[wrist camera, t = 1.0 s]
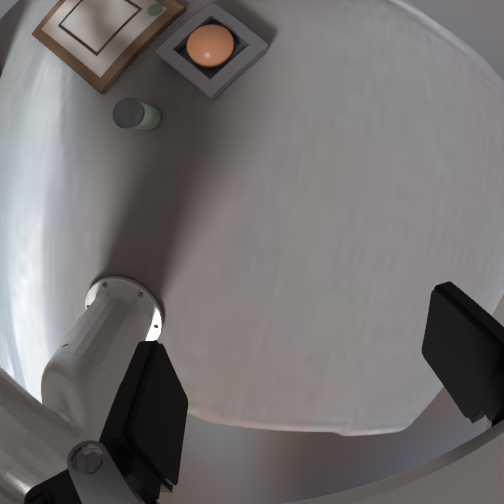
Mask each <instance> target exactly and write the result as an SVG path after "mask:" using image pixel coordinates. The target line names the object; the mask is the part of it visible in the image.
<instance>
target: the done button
mask: <svg viewBox="0 0 504 504" xmlns="http://www.w3.org/2000/svg"><path fill="white" fill-rule="evenodd" d="M233 49H234V46H233V37H232V35H231V34H230V32H229V31H228V30H227V29H225V28H224V27H221V26H218V25H206V26H202V27H200V28H198V29H196V30H195V31H194V32H193V33H192V34H191V35H190V37H189V39H188V41H187V51H188V53H189V55H190V57H191V58H192V60H193V61H194V62H195V63H196V64H197V65H199V66H201V67H205V68H215V67H219V66H221V65H223V64H225V63H226V62H227V61H228V60H229V59H230V58H231V56H232V54H233Z"/></svg>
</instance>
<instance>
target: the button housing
mask: <svg viewBox="0 0 504 504" xmlns="http://www.w3.org/2000/svg"><path fill="white" fill-rule="evenodd" d="M206 25H218V26H221V27H224V28H225V29H227V30H228V31H229V32H230V34H231V35H232V37H233V46H234V49H233V54H232V56H231V58H230V59H229V60H228V61H227V62H226V63H225V64H223V65H221V66H219V67H215V68H205V67H201V66H199V65H197V64H196V63H195V62H194V61H193V60H192V58H191V57H190V55H189V53H188V51H187V41H188V39H189V37H190V35H191V34H192V33H193V32H194V31H195V30H196V29H198V28H200V27H202V26H206ZM268 46H269V45H268V44H267V43H266V42H265V41H264V40H262V39H261V38H260V37H259V36H257V35H256V34H255V33H254V32H253V31H251V30H250V29H249V28H248V27H246V26H245V25H244V24H242V23H241V22H240V21H238V20H237V19H236V18H234V17H233V16H232V15H230V14H229V13H228V12H226V11H225V10H224V9H222V8H221V7H219V6H218V5H216V4H215V3H214V2H212V1H211V2H210V3H209V4H208V5H206V6H205V7H204V8H202V9H201V10H200V11H199V12H198V13H196V14H195V15H194V16H193V17H192V18H190V19H189V20H188V21H187V22H186V23H185V24H183V25H182V26H181V27H180V28H179V29H178V30H177V31H176V32H174V33H173V34H172V35H171V36H170V37H169V38H168V39H167V40H166V41H165V42H164V43H163V44H162V45H161V46H160V47H159V48H158V49H157V50H156V51H155V53H156V54H157V55H158V56H159V57H160V58H161V59H162V60H163V61H164V62H166V63H167V64H168V65H169V66H171V67H172V68H173V69H174V70H176V71H177V72H178V73H179V74H181V75H182V76H183V77H184V78H185V79H187V80H188V81H189V82H190V83H191V84H193V85H194V86H195V87H196V88H197V89H198V90H200V91H201V92H202V93H203V94H204V95H205V96H207V97H208V98H209V99H210V100H211V101H212V102H213V101H214V100H215V99H216V98H217V97H218V96H219V95H220V94H222V93H223V92H224V91H225V90H226V89H227V88H228V87H229V86H230V85H231V84H232V83H233V82H234V81H235V80H236V79H238V78H239V77H240V76H241V75H242V74H243V73H244V72H245V71H246V70H248V69H249V68H250V67H251V66H252V65H253V64H254V63H256V62H257V61H258V60H259V59H260V58H261V57H263V56H264V55H265V54H266V52H267V49H268Z"/></svg>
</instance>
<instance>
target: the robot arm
mask: <svg viewBox="0 0 504 504" xmlns="http://www.w3.org/2000/svg"><path fill="white" fill-rule="evenodd" d="M162 326H163V316H162V311H161V309H160V306H159V304H158V302H157V300H156V299H155V297H154V296H153V295H152V294H151V293H150V292H149V291H148V290H147V289H146V288H145V287H144V286H142V285H141V284H139V283H138V282H136V281H134V280H132V279H129V278H126V277H122V276H109V277H105V278H102V279H100V280H98V281H97V282H95V284H94V285H93V286H92V287H91V288H90V289H89V291H88V293H87V295H86V299H85V312H84V314H83V315H82V316H81V318H80V319H79V320H78V322H77V323H76V324H75V326H74V327H73V328H72V330H71V331H70V332H69V334H68V335H67V336H66V338H65V339H64V341H63V342H62V343H61V345H60V346H59V348H58V349H57V350H56V352H55V353H54V355H53V356H52V358H51V359H50V361H49V362H48V364H47V365H46V367H45V369H44V372H43V375H42V381H41V396H42V403H40V402H39V401H38V400H36V399H35V398H34V397H33V396H32V395H31V394H30V393H28V392H27V391H26V390H25V389H24V388H23V387H22V386H21V385H20V384H19V383H17V382H16V381H15V380H14V379H13V378H12V377H11V376H10V375H9V374H8V373H7V372H6V371H5V370H4V369H3V368H2V367H1V366H0V504H161V503H160V502H159V500H158V499H159V494H160V492H168V493H172V488H173V485H177V483H178V476H179V469H180V461H181V453H182V445H183V438H184V431H185V424H186V417H187V410H188V399H187V396H186V394H185V392H184V390H183V388H182V385H181V383H180V381H179V379H178V377H177V375H176V373H175V370H174V368H173V366H172V364H171V361H170V359H169V357H168V354H167V352H166V350H165V347H164V345H163V344H159V343H158V342H157V341H156V340H157V338H158V337H159V335H160V332H161V329H162ZM422 354H423V357H424V358H425V360H426V361H427V362H428V364H429V365H430V367H431V368H432V369H433V371H434V372H435V374H436V375H437V376H438V378H439V379H440V381H441V382H442V384H443V385H444V387H445V388H446V389H447V391H448V392H449V394H450V395H451V397H452V398H453V400H454V401H455V403H456V404H457V406H458V407H459V409H460V410H461V412H462V413H463V415H464V416H465V417H466V418H470V420H471V422H472V423H474V422H476V421H478V420H479V419H481V418H483V417H484V415H486V417H487V418H488V420H487V427H486V431H485V432H483V433H482V434H480V435H478V436H477V437H475V438H473V439H472V440H470V441H468V442H466V443H464V444H463V445H461V446H459V447H457V448H455V449H453V450H452V451H449V452H447V453H445V454H443V455H441V456H439V457H437V458H435V459H433V460H430V461H428V462H426V463H424V464H422V465H419V466H417V467H415V468H412V469H410V470H407V471H405V472H402V473H400V474H397V475H394V476H392V477H389V478H386V479H383V480H380V481H377V482H374V483H371V484H368V485H365V486H361V487H358V488H355V489H351V490H347V491H343V492H340V493H335V494H331V495H327V496H322V497H318V498H313V499H308V500H302V501H296V502H290V503H284V504H504V327H503V326H502V325H501V324H500V323H499V322H497V321H496V320H495V319H494V318H493V317H492V316H491V315H490V314H489V313H487V312H486V311H485V310H484V309H483V308H482V307H481V306H479V305H478V304H477V303H476V302H475V301H474V300H472V299H471V298H470V297H469V296H468V295H466V294H465V293H464V292H463V291H462V290H460V289H459V288H458V287H457V286H455V285H454V284H453V283H452V282H445V283H442V284H439V285H436V286H435V288H434V290H433V291H432V293H431V298H430V305H429V312H428V318H427V324H426V329H425V335H424V340H423V345H422Z"/></svg>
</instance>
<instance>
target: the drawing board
mask: <svg viewBox="0 0 504 504" xmlns="http://www.w3.org/2000/svg"><path fill="white" fill-rule="evenodd" d="M185 11H186V9H185V7H184V6H182V5H181V4H179V3H178V2H176V1H175V0H59V1H58V2H57V3H56V5H55V6H54V7H53V8H52V9H51V10H50V12H49V13H48V14H47V15H46V16H45V18H44V19H43V20H42V21H41V23H40V24H39V25H38V26H37V28H36V29H35V30H34V32H33V33H32V35H33V36H34V37H35V38H36V39H38V40H39V41H40V42H41V43H42V44H44V45H45V46H46V47H47V48H48V49H49V50H51V51H52V52H53V53H54V54H55V55H57V56H58V57H59V58H60V59H61V60H62V61H64V62H65V63H66V64H67V65H68V66H69V67H71V68H72V69H73V70H74V71H75V72H76V73H77V74H79V75H80V76H81V77H82V78H83V79H84V80H86V81H87V82H88V83H89V84H90V85H91V86H92V87H94V88H95V89H96V90H97V91H98V92H99V93H101V94H105V92H106V91H107V90H108V89H109V87H110V86H111V85H112V84H113V83H114V81H115V80H116V79H117V78H118V77H119V76H120V75H121V73H122V72H123V71H124V70H125V69H126V68H127V67H128V66H129V64H130V63H131V62H132V61H133V60H134V59H135V58H136V57H137V56H138V55H139V54H140V53H141V52H142V51H143V50H144V49H145V48H146V47H147V46H148V45H149V44H150V43H151V42H152V41H153V40H154V39H155V38H156V37H157V36H158V35H159V34H160V33H161V32H162V31H163V30H164V29H165V28H166V27H167V26H169V25H170V24H171V23H172V22H173V21H174V20H175V19H176V18H178V17H179V16H180V15H181V14H182V13H183V12H185Z"/></svg>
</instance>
